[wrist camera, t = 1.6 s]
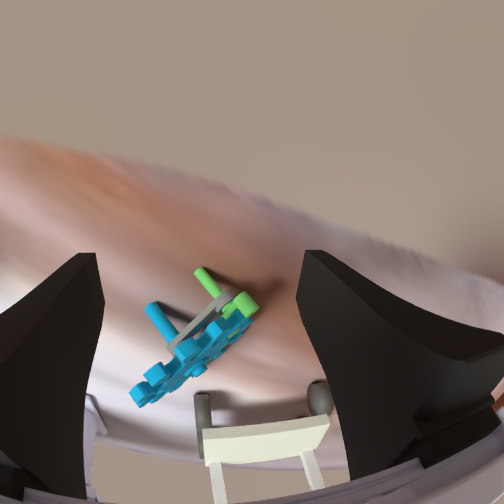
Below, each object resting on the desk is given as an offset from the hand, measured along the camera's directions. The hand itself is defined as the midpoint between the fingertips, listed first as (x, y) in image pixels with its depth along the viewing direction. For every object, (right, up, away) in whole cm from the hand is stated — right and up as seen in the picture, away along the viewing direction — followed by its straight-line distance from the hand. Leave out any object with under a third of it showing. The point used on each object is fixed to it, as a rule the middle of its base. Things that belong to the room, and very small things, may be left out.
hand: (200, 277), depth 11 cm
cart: (+2, -16, +21) cm, 27 cm away
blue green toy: (-3, -4, +13) cm, 14 cm away
